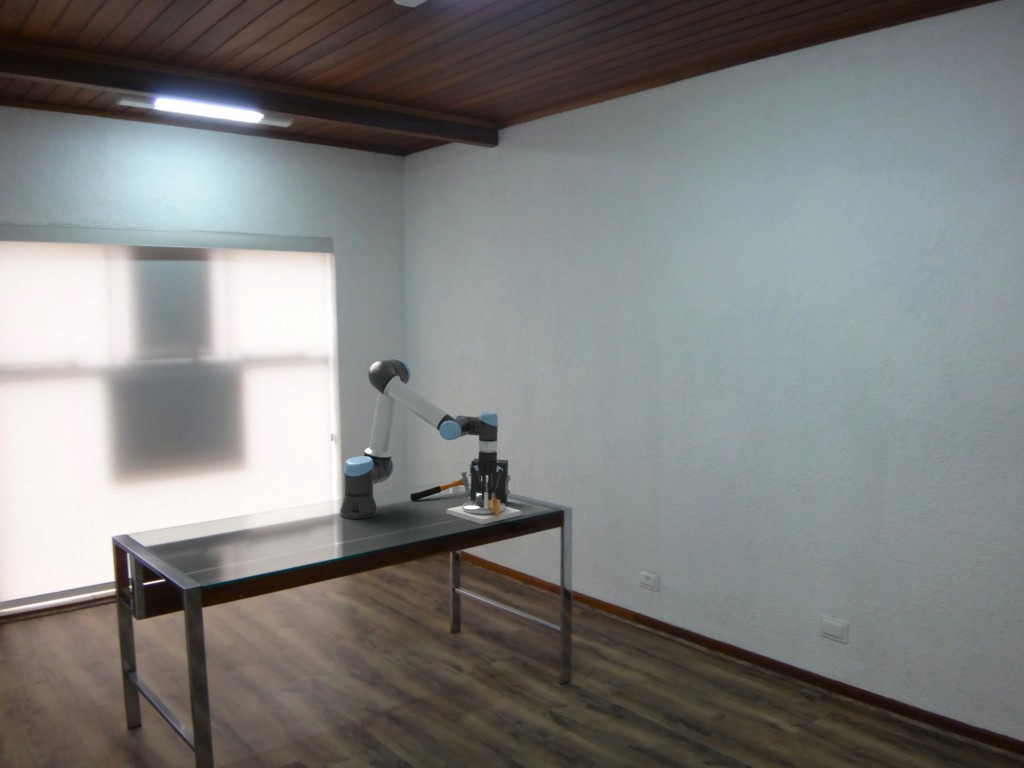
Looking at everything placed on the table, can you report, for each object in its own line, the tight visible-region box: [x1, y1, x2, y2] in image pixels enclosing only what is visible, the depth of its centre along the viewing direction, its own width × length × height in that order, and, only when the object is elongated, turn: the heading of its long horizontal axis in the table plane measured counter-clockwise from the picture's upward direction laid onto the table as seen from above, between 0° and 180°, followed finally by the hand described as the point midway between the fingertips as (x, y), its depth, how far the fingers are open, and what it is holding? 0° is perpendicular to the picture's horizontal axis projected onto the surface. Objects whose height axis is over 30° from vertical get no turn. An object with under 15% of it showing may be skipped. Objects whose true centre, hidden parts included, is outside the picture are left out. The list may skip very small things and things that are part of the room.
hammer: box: [409, 470, 470, 502], centre depth 369 cm, size 11×4×30 cm
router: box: [467, 458, 512, 505], centre depth 360 cm, size 8×18×20 cm, turn 82°
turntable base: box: [446, 476, 522, 525], centre depth 339 cm, size 22×22×14 cm
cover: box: [476, 488, 495, 507], centre depth 339 cm, size 8×8×7 cm
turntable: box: [461, 496, 506, 516], centre depth 337 cm, size 18×22×7 cm
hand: (486, 507), depth 330 cm, fingers closed
